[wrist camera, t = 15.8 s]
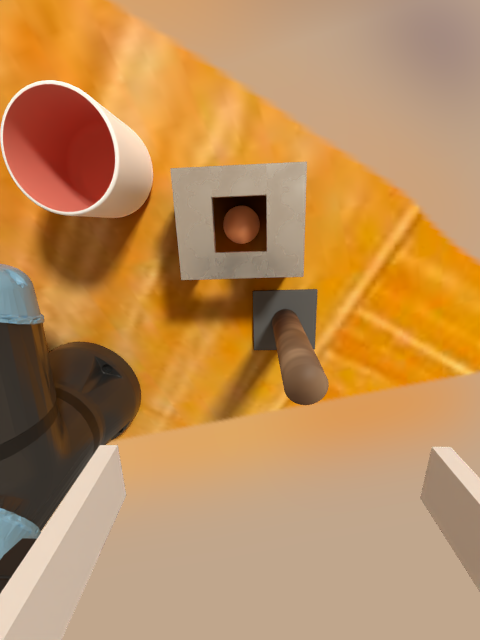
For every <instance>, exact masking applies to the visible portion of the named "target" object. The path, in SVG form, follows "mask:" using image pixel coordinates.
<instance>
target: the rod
mask: <svg viewBox="0 0 480 640" xmlns="http://www.w3.org/2000/svg"><path fill="white" fill-rule="evenodd" d="M272 326H273V331H274V337H275V342H276V348H277V353H278V358H279V364H280V369H281V374H282V380H283V385H284V390H285V393H286V395H287V397H288V398H289V399H290V400H291V401H293V402H295V403H297V404H301V405H310V404H314V403H316V402H318V401H320V400H321V399H322V398H323V397H324V396H325V394H326V393H327V390H328V379H327V377H326V375H325V373H324V371H323V369H322V367H321V364H320V362H319V360H318V358H317V356H316V354H315V352H314V350H313V348H312V346H311V344H310V342H309V339H308V337H307V335H306V333H305V331H304V329H303V327H302V325H301V323H300V321H299V319H298V317H297V315H296V313H295V312H293V311H292V310H289V309H282V310H279V311H278V312H276V313H275V315H274V316H273V318H272Z"/></svg>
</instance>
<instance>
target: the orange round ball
mask: <svg viewBox="0 0 480 640" xmlns="http://www.w3.org/2000/svg"><path fill="white" fill-rule="evenodd" d="M259 226H260V223H259V218H258V216H257V214H256V213H255V211H254V210H253V209H251V208H249V207H247V206H236V207H233V208H232V209H230V210H229V211H228V212H227V214H226V215H225V218H224V222H223V228H224V232H225V234H226V236H227V237H228V238H229V239H230V240H231V241H233V242H235V243H239V244H244V243H248V242H250V241H251V240H253V239H254V238H255V237H256V235H257V233H258V231H259Z"/></svg>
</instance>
